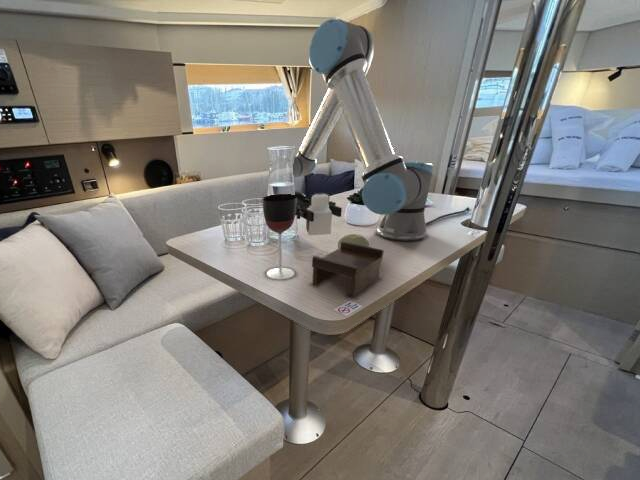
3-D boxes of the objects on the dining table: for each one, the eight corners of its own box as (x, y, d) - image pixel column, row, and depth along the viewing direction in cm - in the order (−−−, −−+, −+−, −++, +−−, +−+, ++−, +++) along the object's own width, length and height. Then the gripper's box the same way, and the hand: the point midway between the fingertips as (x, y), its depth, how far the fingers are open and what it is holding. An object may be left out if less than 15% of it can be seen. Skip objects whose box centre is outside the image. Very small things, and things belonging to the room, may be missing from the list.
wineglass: (258, 274, 86) (255, 199, 76) (280, 264, 91) (279, 192, 81) (280, 282, 81) (279, 203, 71) (302, 272, 86) (303, 196, 76)
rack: (340, 267, 87) (342, 241, 84) (379, 277, 80) (383, 250, 77) (311, 285, 79) (312, 257, 75) (352, 298, 72) (355, 268, 68)
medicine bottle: (306, 228, 107) (307, 192, 101) (327, 228, 106) (329, 191, 101) (308, 235, 101) (309, 196, 95) (330, 234, 100) (333, 195, 94)
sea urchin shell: (349, 253, 91) (341, 228, 93) (338, 264, 98) (331, 241, 100) (377, 248, 93) (368, 224, 95) (364, 259, 100) (356, 237, 102)
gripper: (318, 208, 120) (355, 221, 102) (265, 216, 114) (294, 232, 95) (319, 187, 117) (357, 197, 98) (265, 194, 110) (294, 207, 92)
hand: (326, 214), depth 97 cm, fingers closed on medicine bottle, 9 cm apart
